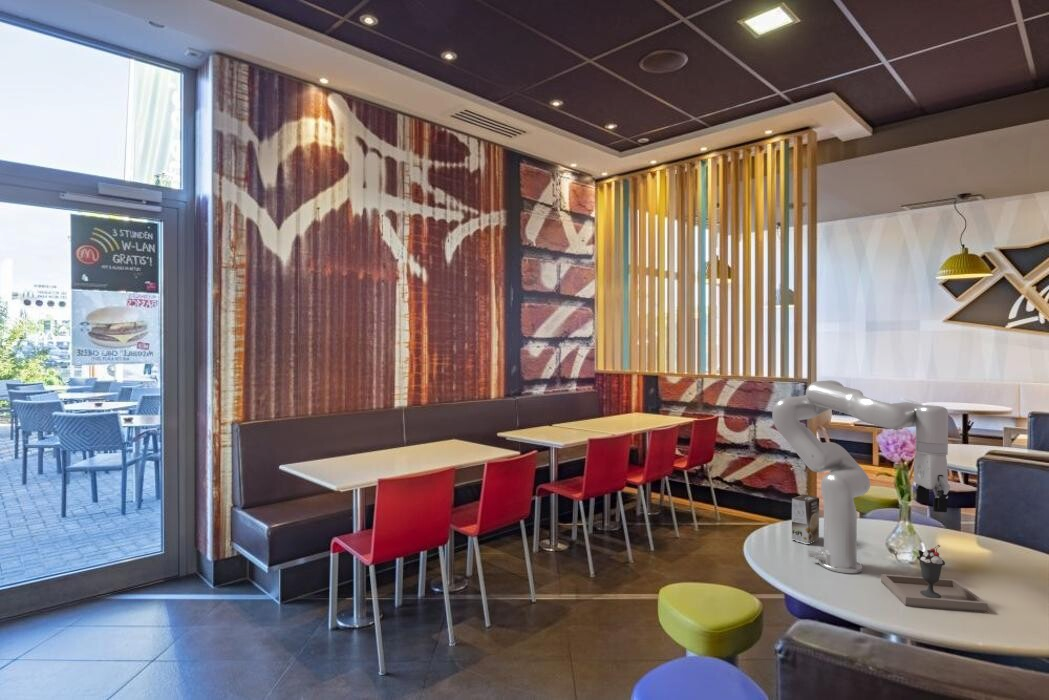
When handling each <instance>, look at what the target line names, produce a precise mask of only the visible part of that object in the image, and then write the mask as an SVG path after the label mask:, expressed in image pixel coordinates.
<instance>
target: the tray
mask: <svg viewBox="0 0 1049 700" xmlns="http://www.w3.org/2000/svg"><path fill="white" fill-rule="evenodd" d="M880 582H881V584H882V585H884V586H885V588H887V590H889V592H890V593H892V594H893V595H894V596H895V597H896V598H897V599H898V600H899V601H900V602H901V603H902V604H903V605H904V606H905V607H912V606H913V607H914V608H925V609H926V608H927V609H935V610H936V609H940V610H950V611H951V610H952V611H961V612H962V611H963V612H973V613H974V612H975V613H985V612H987V613H988V603H987V602H986V601H984V600H983V599H982V598H980V597H979V596H977V595H976V594H975V593H973V592H972V591H971V590H970V589H968V588H966V587H965V586H964V585H963V584H961V583H960V582H959V581H957V580H956V579H954V578H939V581H937V582H936V583H934V584H933V590H934V592H936V593H938V594H940V595H941V598H930V597H926V596H924V595H922V594H921V593H920V591H922V590H927V589H928V582H927V581H926V580H925V579H924V578H923V577H922V576H915V575H914V576H912V575H900V574H898V575H897V574H896V575H895V574H883V573H881V574H880Z"/></svg>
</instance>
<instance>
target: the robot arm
mask: <svg viewBox="0 0 1049 700" xmlns="http://www.w3.org/2000/svg"><path fill="white" fill-rule="evenodd" d="M830 410H832V411H835V412H838V413H843V414H846V415H849V416H852V417H853V418H855V419H857V420H859V421H862V422H864V423H867V424H870V425H873V426H877V427H881V428H885V429H890V430H898V429H899V430H900V429H906V428H912V427H913V428H915V455H914V463H913V482H914V483H915V489H916V490H915V491H916V492H915V494H916V495H915V499H916V502H917V503H925V504H927V503H928V504H929V503H930V490H932V492H933V495H934V496H933V499H932V501H933V503H932V505H933V506H932V507H933V508H932V509H933V510H932V511H933V512H935V513H948V498H949V494H950V493H949V492H950V488H951V485H950V484H949V471H948V461H947V456H948V455H949V411H948V409H947V408H946V407H945V406H940V405H933V404H932V405H931V404H930V405H923V404H920V403H919V404H918V403H914V402H908V401H907V402H906V401H905V402H895V403H894V402H893V403H889V402H885V401H881V400H877V399H872V398H869V397H866V396H864V393H863V392H862V391H861V390H860V389H856V388H851V387H847V386H844V385H843V384H842V383H840V382H838V381H837V380H829V379H828V380H818V381H813V382H812V383H810V384H809V385H808V386H807V388H806V389H805V394H804V395H800V396H788V397H784V398H781V399H779V400H778V401H776V403H775V404H774V406H773V409H772V412H771V413H772V414H771V415H772V421H773V425H774V427H775V429H776V430H777V432H778V433H779V434H780V435H781V437H783V438H784V439H785V441H786V442H787V443H788V444H789V445H790V447H791V448H792V449H793V450H794V452H795V453H796V454H797V455H798V456H799V458H800V459H801V460H802V461H803V463H804V465H806V467H807V468H808V469H809V470H811V471H812V472H814V473H815V472H816V473H824V472H827V474H826V475H824V476H823V478H822V479H821V483H820V490H821V496H822V502H823V547H821V548H820V550H817V551H812V550H811V551H810V550H807V556H808V558H814V560H818V564H819V565H820V566H821V567H823V568H824V569H828V570H830V571H833V572H836V573H837V572H838V573H843V574H858V573H861V572H862V571H863V566H862V565H863V564H861V563H860V562H859V561H857V560H858V559H857V558H858V557H857V554H858V553H857V552H858V551H857V550H858V548H857V547H858V546H857V545H858V543H857V542H858V540H857V539H858V536H857V535H858V534H857V533H858V521H857V520H858V516H857V515H858V512H857V508H856V504H855V501H854V498H857V497H861V496H864V495H865V494H867V493H868V492H869V490H870V488H871V480H870V478H869V475H868V474H867V473H866V472H865V470H864V469H863V468H862V466H861V465H860V464H859V463H858V462H857V461H856V459H854V457H852V456H851V454H850V453H849V452H848V450H846V449H845V448H844V447H843V446H842V445H840V444H838V443H836V442H831V441H830V442H829V441H827V442H822V441H820V439H818V438H817V436H816V435H815V434H814V432H813V431H812V430H811V429H809V428H808V427H807V426H806V425H804V424H803V423H802V422H801V421H804V420H809V419H810V420H811V419H813V418H816V417H818V416H819V415H822V414H823V413H825V412H827V411H830Z"/></svg>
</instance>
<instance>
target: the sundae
mask: <svg viewBox="0 0 1049 700" xmlns="http://www.w3.org/2000/svg"><path fill="white" fill-rule="evenodd" d="M940 547H941V545H940V544H937V546H935V547H934V548H932V547H931V548H930V549H927V550H925V551H922V550H921V549H918V554H919V555H918V556H916V559H917V560H918V561H919V565H920V570H921V571H920V572H921V577H923V578H924V579H925V580H926V581H927V582H928V589H927V590H922V591H920V593H921V594H922V595H924V596H926V597H930V598H941V595H940V594H938V593H936V592H934V590H933V584H934V583H936V582H937V581H939V578H940V577H941V572H942V568H943V566H945V565H946V561H944V559H943V558H942V557H940V552H938V551H937V550H938V548H940Z"/></svg>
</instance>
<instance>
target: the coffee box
mask: <svg viewBox="0 0 1049 700" xmlns="http://www.w3.org/2000/svg"><path fill="white" fill-rule="evenodd" d="M792 539H795V540H799V541H802V542H805V543H811V542H813V541H815V542H817V541H816V540H818V539H820V497H816V496H813V495H806V494H801V495H798V496H795V497H792V498H791V540H792ZM818 541H819V540H818ZM813 543H814V542H813ZM811 544H812V543H811Z"/></svg>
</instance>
